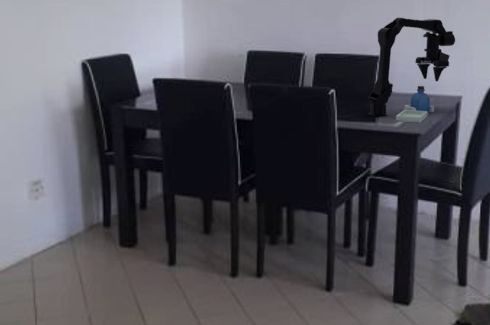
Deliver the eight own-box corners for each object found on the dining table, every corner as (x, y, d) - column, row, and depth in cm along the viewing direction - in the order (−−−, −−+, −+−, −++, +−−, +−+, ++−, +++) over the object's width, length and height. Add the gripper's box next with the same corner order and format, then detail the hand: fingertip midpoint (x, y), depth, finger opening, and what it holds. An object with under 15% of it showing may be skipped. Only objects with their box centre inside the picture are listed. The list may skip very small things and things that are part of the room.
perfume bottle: (410, 111, 312) (411, 86, 309) (421, 109, 314) (422, 85, 311) (418, 113, 307) (419, 87, 304) (429, 112, 309) (430, 86, 306)
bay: (414, 113, 306) (414, 108, 305) (403, 110, 314) (403, 105, 313) (433, 111, 309) (434, 106, 308) (422, 108, 317) (422, 103, 317)
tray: (420, 122, 285) (420, 117, 285) (395, 120, 290) (396, 115, 289) (427, 116, 299) (427, 111, 299) (404, 114, 304) (404, 109, 303)
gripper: (459, 47, 298) (457, 81, 303) (435, 44, 315) (433, 76, 320) (439, 48, 295) (437, 83, 299) (415, 45, 312) (414, 78, 316)
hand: (430, 80), depth 308 cm, fingers open, 9 cm apart
